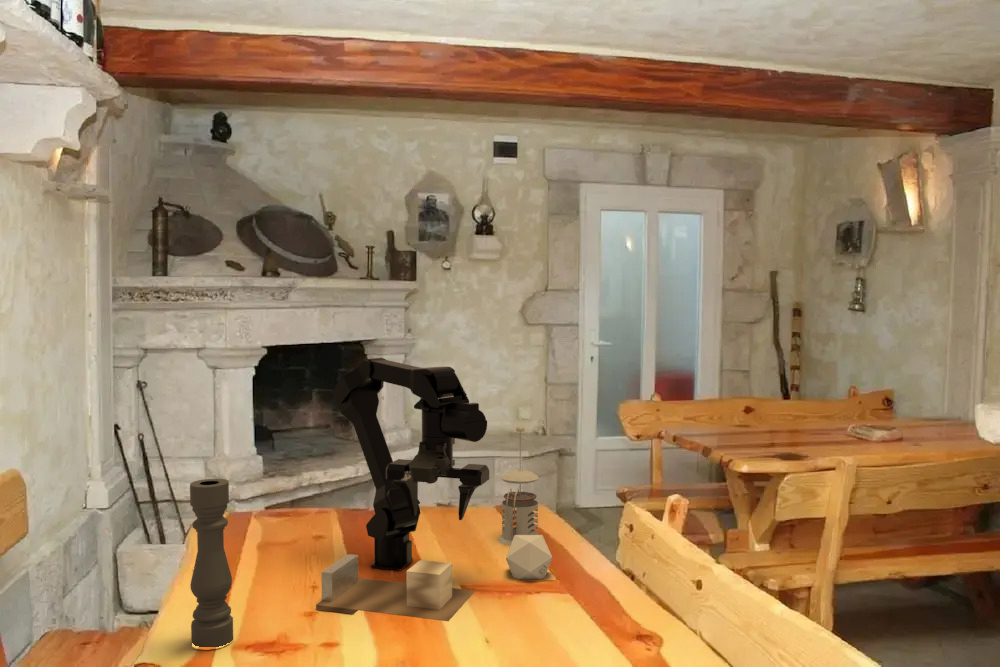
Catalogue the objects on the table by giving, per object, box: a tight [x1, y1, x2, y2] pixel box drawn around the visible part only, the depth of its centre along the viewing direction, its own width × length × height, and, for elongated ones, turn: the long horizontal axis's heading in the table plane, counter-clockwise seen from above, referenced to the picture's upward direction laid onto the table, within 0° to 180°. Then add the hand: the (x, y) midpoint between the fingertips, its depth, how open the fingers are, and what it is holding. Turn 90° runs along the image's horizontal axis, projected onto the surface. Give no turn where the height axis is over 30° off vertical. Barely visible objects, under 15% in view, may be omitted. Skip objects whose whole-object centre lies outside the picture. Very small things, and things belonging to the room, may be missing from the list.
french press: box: [497, 425, 539, 547], centre depth 180 cm, size 10×12×25 cm
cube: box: [406, 559, 453, 610], centre depth 143 cm, size 6×6×6 cm
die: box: [505, 534, 553, 580], centre depth 157 cm, size 8×9×10 cm
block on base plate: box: [315, 553, 476, 622], centre depth 145 cm, size 24×14×6 cm, turn 73°
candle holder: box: [189, 478, 234, 647], centre depth 129 cm, size 6×6×25 cm
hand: (437, 517), depth 155 cm, fingers open, 9 cm apart
